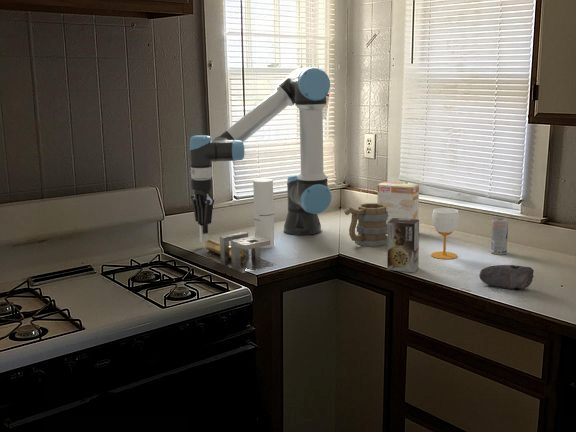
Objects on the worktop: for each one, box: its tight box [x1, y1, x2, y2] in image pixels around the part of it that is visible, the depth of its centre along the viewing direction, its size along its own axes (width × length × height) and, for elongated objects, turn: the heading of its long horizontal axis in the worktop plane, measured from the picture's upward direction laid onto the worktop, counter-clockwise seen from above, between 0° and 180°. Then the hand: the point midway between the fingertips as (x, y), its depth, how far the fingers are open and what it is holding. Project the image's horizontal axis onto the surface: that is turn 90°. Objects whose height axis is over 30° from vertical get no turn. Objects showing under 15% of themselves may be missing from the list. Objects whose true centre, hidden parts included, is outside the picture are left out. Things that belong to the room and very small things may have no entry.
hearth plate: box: [193, 248, 278, 274], centre depth 222 cm, size 14×33×1 cm, turn 37°
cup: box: [430, 207, 460, 260], centre depth 220 cm, size 9×9×16 cm
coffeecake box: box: [376, 181, 420, 234], centre depth 253 cm, size 15×7×20 cm, turn 58°
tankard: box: [344, 202, 388, 247], centre depth 238 cm, size 20×13×15 cm, turn 124°
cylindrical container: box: [252, 178, 275, 249], centre depth 235 cm, size 7×7×25 cm
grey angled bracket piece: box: [219, 231, 250, 262], centre depth 220 cm, size 10×2×8 cm, turn 128°
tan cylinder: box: [204, 239, 245, 262], centre depth 224 cm, size 20×4×4 cm, turn 38°
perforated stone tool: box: [479, 264, 535, 290], centre depth 187 cm, size 15×5×7 cm, turn 61°
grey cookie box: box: [386, 218, 420, 273], centre depth 206 cm, size 9×6×16 cm
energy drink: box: [490, 217, 509, 256], centre depth 222 cm, size 5×5×12 cm
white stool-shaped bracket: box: [230, 235, 270, 267], centre depth 212 cm, size 10×8×8 cm
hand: (204, 241), depth 236 cm, fingers closed
